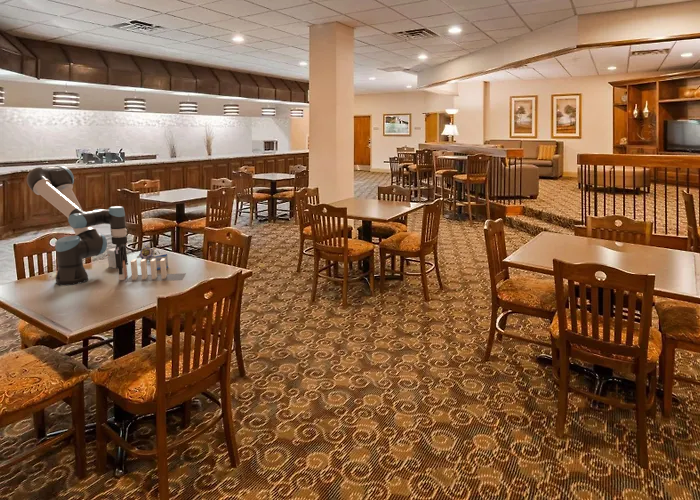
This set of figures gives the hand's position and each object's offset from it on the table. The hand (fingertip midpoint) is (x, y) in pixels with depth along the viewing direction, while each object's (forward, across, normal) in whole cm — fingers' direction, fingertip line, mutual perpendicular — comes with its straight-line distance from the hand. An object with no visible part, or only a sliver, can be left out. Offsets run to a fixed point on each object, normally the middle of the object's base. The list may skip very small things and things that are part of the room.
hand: (123, 278), depth 272 cm
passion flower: (+1, +39, -5) cm, 39 cm away
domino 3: (0, 0, -16) cm, 16 cm away
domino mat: (+1, 0, -17) cm, 17 cm away
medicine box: (+1, +20, -15) cm, 25 cm away
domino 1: (0, 0, -6) cm, 6 cm away
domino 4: (0, 0, -21) cm, 21 cm away
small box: (+1, +28, +11) cm, 30 cm away
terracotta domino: (+1, 0, 0) cm, 1 cm away
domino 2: (0, 0, -11) cm, 11 cm away
